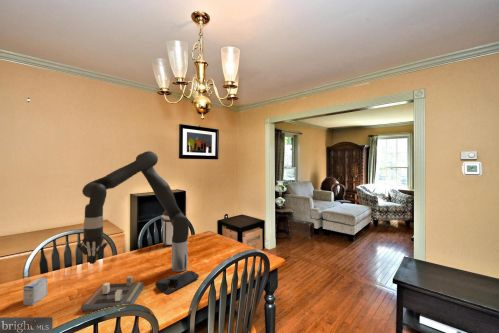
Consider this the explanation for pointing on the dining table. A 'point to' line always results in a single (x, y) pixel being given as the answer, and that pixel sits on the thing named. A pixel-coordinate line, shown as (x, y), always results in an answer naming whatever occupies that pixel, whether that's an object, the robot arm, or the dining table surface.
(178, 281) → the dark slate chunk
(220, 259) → the dining table surface
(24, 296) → the medicine box
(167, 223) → the coffee press
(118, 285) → the breaker panel
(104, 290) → the handle
